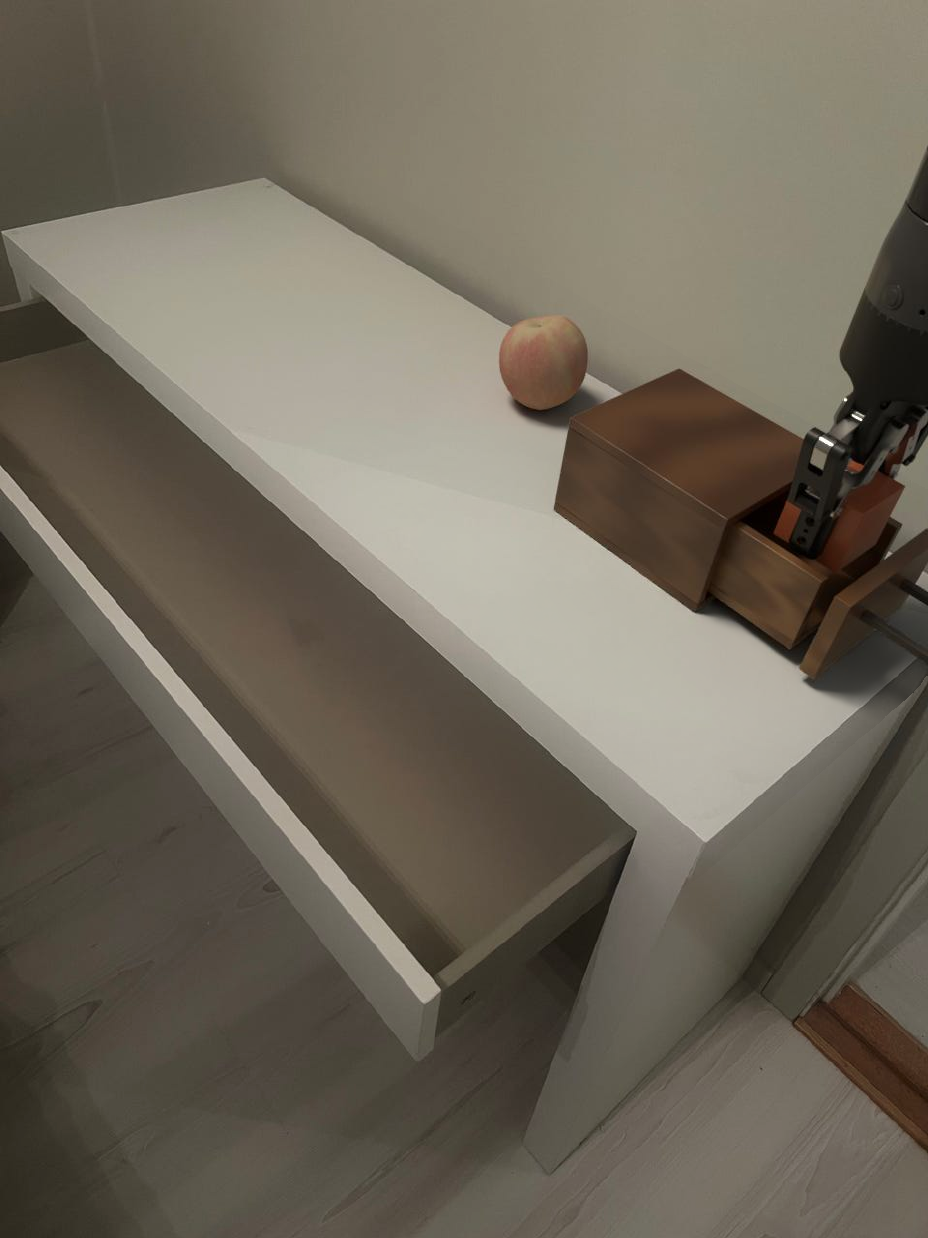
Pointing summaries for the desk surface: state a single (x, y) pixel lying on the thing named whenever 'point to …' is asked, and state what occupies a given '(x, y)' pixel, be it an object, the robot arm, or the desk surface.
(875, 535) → the block
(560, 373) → the apple
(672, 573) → the cabinet
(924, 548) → the drawer
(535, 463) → the desk surface
